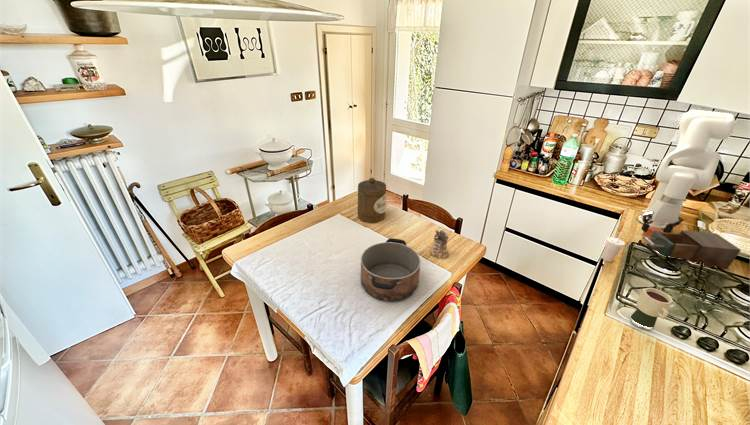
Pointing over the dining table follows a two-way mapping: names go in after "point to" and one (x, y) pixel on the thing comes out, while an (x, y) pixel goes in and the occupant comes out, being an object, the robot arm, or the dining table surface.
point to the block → (651, 231)
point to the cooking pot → (390, 270)
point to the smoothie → (612, 248)
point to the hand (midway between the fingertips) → (654, 232)
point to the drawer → (672, 245)
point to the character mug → (651, 306)
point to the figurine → (439, 245)
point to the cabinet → (712, 249)
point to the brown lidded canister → (371, 201)
